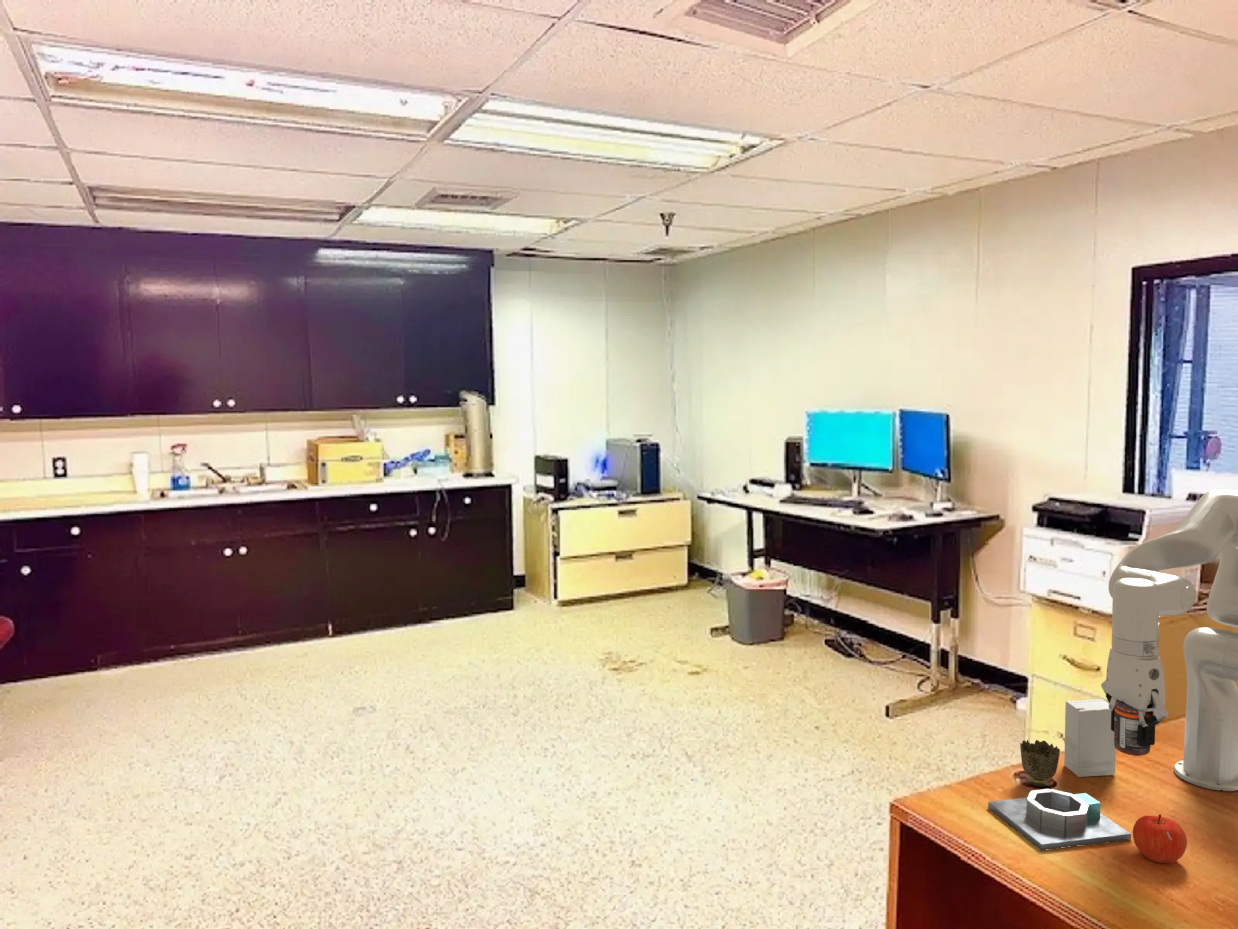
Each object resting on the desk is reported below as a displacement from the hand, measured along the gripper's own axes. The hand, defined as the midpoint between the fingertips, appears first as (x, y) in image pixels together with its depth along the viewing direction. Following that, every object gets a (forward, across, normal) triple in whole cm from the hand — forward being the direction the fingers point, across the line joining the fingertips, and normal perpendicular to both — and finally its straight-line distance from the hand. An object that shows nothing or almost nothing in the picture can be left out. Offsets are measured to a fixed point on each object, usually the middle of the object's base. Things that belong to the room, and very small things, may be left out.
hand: (1132, 736), depth 165 cm
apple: (+16, -13, +6) cm, 22 cm away
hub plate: (+15, 0, +15) cm, 22 cm away
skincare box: (+17, +18, -6) cm, 25 cm away
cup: (+16, +16, +8) cm, 24 cm away
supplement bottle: (+3, 0, 0) cm, 3 cm away
